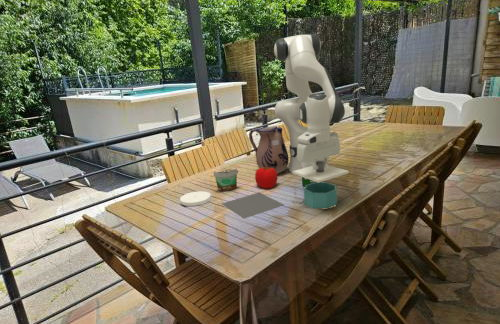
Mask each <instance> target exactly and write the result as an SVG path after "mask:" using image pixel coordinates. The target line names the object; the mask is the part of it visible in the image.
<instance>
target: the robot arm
mask: <svg viewBox="0 0 500 324" xmlns="http://www.w3.org/2000/svg"><path fill="white" fill-rule="evenodd" d="M321 48H322V43H321V39H320V37H319V36H318V35H317V34H314V33H309V34H297V35H293V36H292V35H291V36H287V37H281V38H278V39H277V40H276V41H275V43H274V47H273V52H274V56H275V57H276V59H277V60H278V61H281V62H285V65H284V66H285V67H284V70H285V82H286V83H285V85H286V89H287V91H289V92H290V93H293V94H295V95H297V97H298V98H293V99H292V98H290V99H282V100H279V101H278V102H277V103H276V104H275V107H274V114H275V117H276V118H277V119H278V120H280V121H281V122H282V123H283V125H285V127H286V128H287V130H288V131H287V132H288V135H289V154H290V157H289V158H290V159H289V165H288V171H289V172H290V173H293V172H292V171H295V170H299V169H301V162H302V163H306V162H310V163H311V164H312V166H313V170H318V165H316V163H315V162H316V160H317V159H321V161H324V168H325V167H327V165H328V162H329V159H330V157H331V156H334V155H339V154H340V152H341V143H340V140H339V134H338V132H336V131H333V132H331V125H330V124H337V123H339V122H340V121H341V120H342V119H343V118H344V117H345V113H346V111H345V110H346V109H345V105H344V103H343V101H342V100H341V98H340V96H339V94H338V91H337V89H336V86H335V85H334V82H333V79H332V77H331V74H330V73H329V71H328V69H327V68H326V67H325V66H323V65H322V64H320V62H319V61H318V60H317V56H318V55H319V54H320V52H321ZM309 82H313V83H315V84H318V85H319V86H320V87H321V88H322V91H323V93H320V92H319V93H313V92H312V90H311V88H310V84H309ZM299 120H300V121H301V122H302V123H303V125H302V124H301V123H300V122H299ZM304 124H305V125H307V127H306V126H304Z"/></svg>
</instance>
